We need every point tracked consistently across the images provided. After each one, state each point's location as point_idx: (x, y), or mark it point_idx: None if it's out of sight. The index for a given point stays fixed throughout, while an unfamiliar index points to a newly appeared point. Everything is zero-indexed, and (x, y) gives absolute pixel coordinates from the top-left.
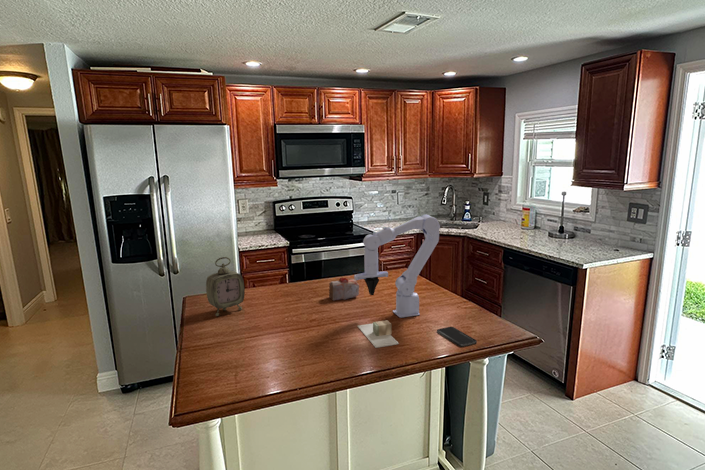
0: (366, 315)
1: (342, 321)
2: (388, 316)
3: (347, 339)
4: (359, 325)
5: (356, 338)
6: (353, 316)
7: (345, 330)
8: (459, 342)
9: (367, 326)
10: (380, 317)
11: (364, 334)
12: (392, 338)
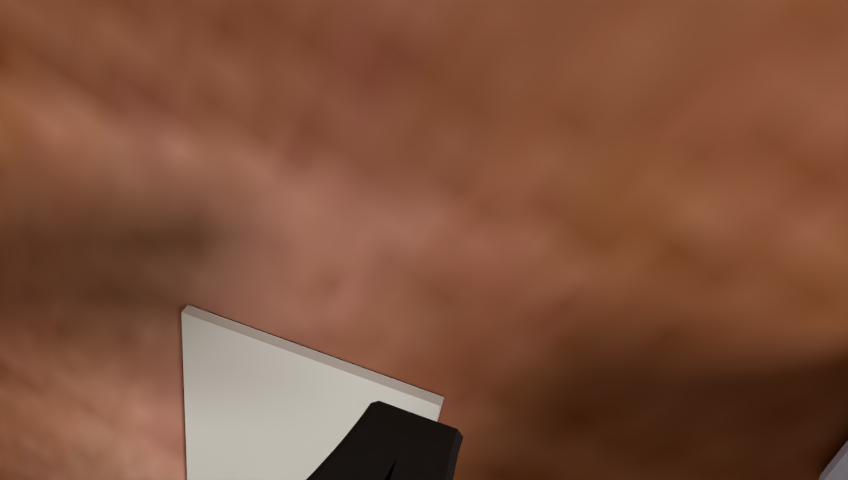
0: (458, 104)
1: (53, 71)
2: (732, 344)
3: (38, 417)
4: (203, 323)
5: (110, 451)
6: (248, 6)
7: (48, 290)
8: None
9: (274, 391)
10: (599, 295)
11: (190, 459)
12: None
